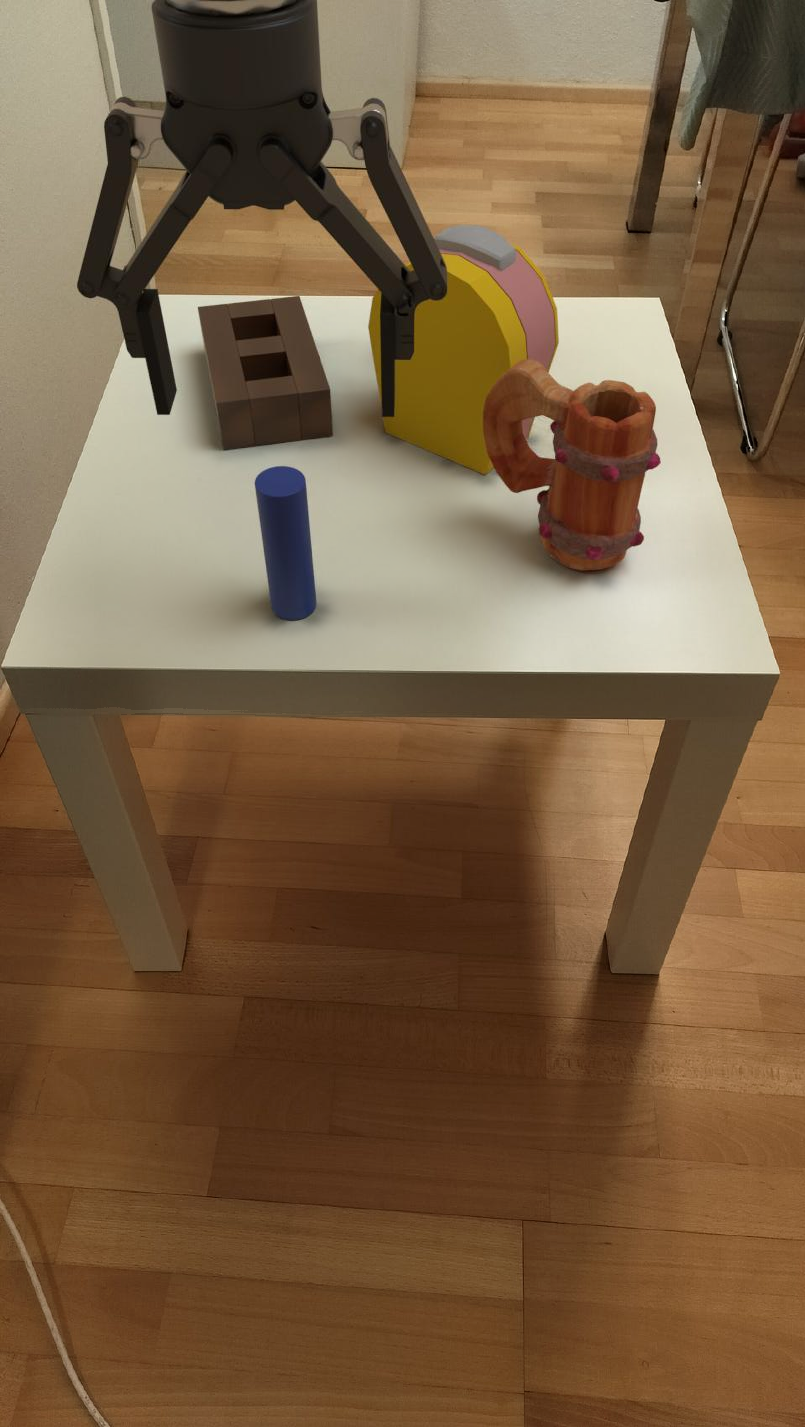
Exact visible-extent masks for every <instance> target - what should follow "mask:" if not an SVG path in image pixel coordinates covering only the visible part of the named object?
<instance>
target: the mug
mask: <svg viewBox="0 0 805 1427" xmlns="http://www.w3.org/2000/svg"><path fill="white" fill-rule="evenodd" d="M656 412H657V406H656V403H655V400H653V398H652V397H651V395H649V393H647V391H636V390H635V388H634V387H633V386H632V385H630V384H628V383H627V382H624V381H621V380H620V381H619V380H612V379H604V380H602V381H601V382H600V383H599V384H597V385H596V384H594V383H593V382H586V383H584V384H582V385H579V386H577V388H576V389H574V390H573V389H571V388H568V387H566V386H564V385H562V384H560V383H559V382H558V381H557V380H556V379H555V378H554V377H553V376H552V375H551V374H550V372H549V373H548V372H547V370H546V369H545V368H544V366H543V365H542V364H541V363H539V362H538V361H535V360H532V359H526V360H521V361H520V362H518V363H517V364H515V365H513V367H511V368H510V369H509V370H508V371H507V372H504V373H503V375H502V376H501V378H500V379H499V380H497V381H496V382H495V384H494V385H493V387H492V388H491V390H490V392H489V394H488V395H487V397H486V400H485V404H484V410H483V434H484V439H485V444H486V450H487V454H488V456H489V458H490V460H491V462H492V464H493V466H494V468H493V469H494V470H495V472H496V474H497V475H498V477H499V478H500V479H501V481H502V482H503V484H504V485H505V486H506V487H507V489H508V490H509V491H510V492H512V493H514V494H519V493H522V492H526V491H530V490H535V489H539V488H543V487H548V489H543V490H541V491H539V492H538V493H537V496H536V501H537V503H538V504H539V510H538V514H537V521H538V531H539V532H538V534H539V536H538V538H539V542H540V543H541V545H542V546H543V548H544V550H545V552H546V553H547V555H549V556H551V558H553V559H554V560H555V561H557V563H559V564H560V565H562V566H564V567H566V568H569V569H572V570H577V571H597V570H603V569H607V568H610V567H613V566H615V565H617V564H618V563H620V562H622V561H623V560H624V559H625V557H626V556H627V551H628V550H630V548H632V547H637V546H640V545H642V544H643V542H644V540H645V536H644V534H643V533H642V532H641V531H640V530H641V529H640V528H641V523H642V516H641V513H640V509H639V508H638V507H639V503H640V499H641V493H642V490H643V485H644V482H645V476H646V473H647V472H648V471H650V470H654V469H655V468H657V467H659V466H660V465H661V463H662V461H661V457H660V456H659V453H657V449H658V437H657V435H656V432H655V430H654V425H655V420H656V419H655V418H656ZM540 416H541V417H542V416H543V417H545V418H548V419H550V420H552V422H551V424H550V425H549V427H550V428H549V429H550V431H551V433H552V434H553V438H552V446H553V447H552V448H553V452H554V458H552V457H551V458H550V457H549V458H548V457H540V456H538V454H537V453H536V452H535V451H534V450H533V449H532V448H531V447H530V445H529V443H528V441H527V439H525V437H524V435H523V428H522V420H524V419H528V418H532V417H535V418H537V417H540Z"/></svg>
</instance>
